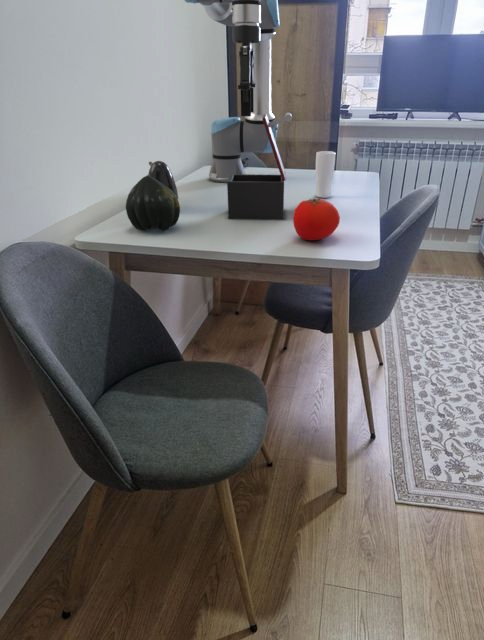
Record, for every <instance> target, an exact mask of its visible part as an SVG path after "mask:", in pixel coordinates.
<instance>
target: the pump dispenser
mask: <svg viewBox="0 0 484 640" xmlns="http://www.w3.org/2000/svg"><path fill="white" fill-rule="evenodd" d="M148 165H149V166H150V167H149V169H148V173H147V175H149V176H150V177H152V178H154V179H156V180H158V181H159V182H161V183H162V184H164V185H165V186H167V187H168V188H169V189H171V190H172V191H173V192H174V193H175V195H176V196H177V198H178V199H179V193H178V187H177V185H176V181H175V179H174V175H173V174H172V173H173V172H172V171H171V169H170V167H169V166H168V164H167V163H165V162H164V161H162V160H155V161H148Z"/></svg>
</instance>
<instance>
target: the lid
mask: <svg viewBox="0 0 484 640" xmlns="http://www.w3.org/2000/svg"><path fill="white" fill-rule="evenodd" d="M262 120H263V123H264V126H265V129H266V132H267V135H268V138H269V141H270V144H271V147H272V150H273V152H272V153H273V156H274V159H275V163H276V165H277V169H278V171H279V175H281V177H282V180H283V181H284V182H285V181H287V179H286V178H287V177H286V170H285V167H284V164H283V161H282V157H281V154H280V151H279V148H278V145H277V141H276V142H275V139H274V136H273V133H272V129H271V126H274V125H276V124H278V125H279V124H281V123H283V122H286V123H291V122H292V120H293V116H292V113H291V112H286V113H285V114H284V116H282V117H279V118H277V119H275V120H274V121H272V122H269V120H268V117H267V114H265V115H264V116H263V118H262Z"/></svg>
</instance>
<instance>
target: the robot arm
mask: <svg viewBox="0 0 484 640" xmlns="http://www.w3.org/2000/svg"><path fill="white" fill-rule="evenodd" d="M278 1H279V0H184V2H185V3H188V4H194V5H195V4H200V5H201V6H202V7H203V8H204V10H205V12H206V14H207V15H208V17H209V18H210V19H211V20H213V21H215V22H217V23H218V24H221V25H223V26H227V27H232V42H233V43H234V44H241V45H240V47H239V50H240V51H238V56H239V57H238V58H239V71H240V72H239V78H240V79H239V84H237V89H238V90H240V116H241V117H244V120H241V117H240V116H231V117H230V116H229V117H225V118H223V117H222V118H219V119H215V120H213V121H212V122H211V125H210V126H211V127H210V136H211V151H212V153H211V154H212V161H211V164H210V169H209V174H208V180H209V181H211V182H215V183H227V182H228V179H229V177H230V175H231V174H246V172H245V171H246V170H245V167H247V165H248V163H247V161H246V160H249V157H247V158H245V159H242V153H245V154H247V153H253V154H267V153H269V154H270V153H273V150H272V147H271V144H270V141H269V138H268V135H267V132H266V129H265V126H264V123H263V120H262V118H263V116H264V115H265V114H267V117H268V120H269V122H272V121H274V120H276V118H275V115H274V114H273V113H272V38H273V37H274V36H275V35H276V28H277V29H278V28H279V27H280V12H279V2H278ZM271 129H272V133H273V136H274V139H275V142H276V143H277V136H278V135H277V134H278V129H279V124H276V125H274V126H271ZM241 159H242V160H241ZM243 163H244V164H243Z"/></svg>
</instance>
